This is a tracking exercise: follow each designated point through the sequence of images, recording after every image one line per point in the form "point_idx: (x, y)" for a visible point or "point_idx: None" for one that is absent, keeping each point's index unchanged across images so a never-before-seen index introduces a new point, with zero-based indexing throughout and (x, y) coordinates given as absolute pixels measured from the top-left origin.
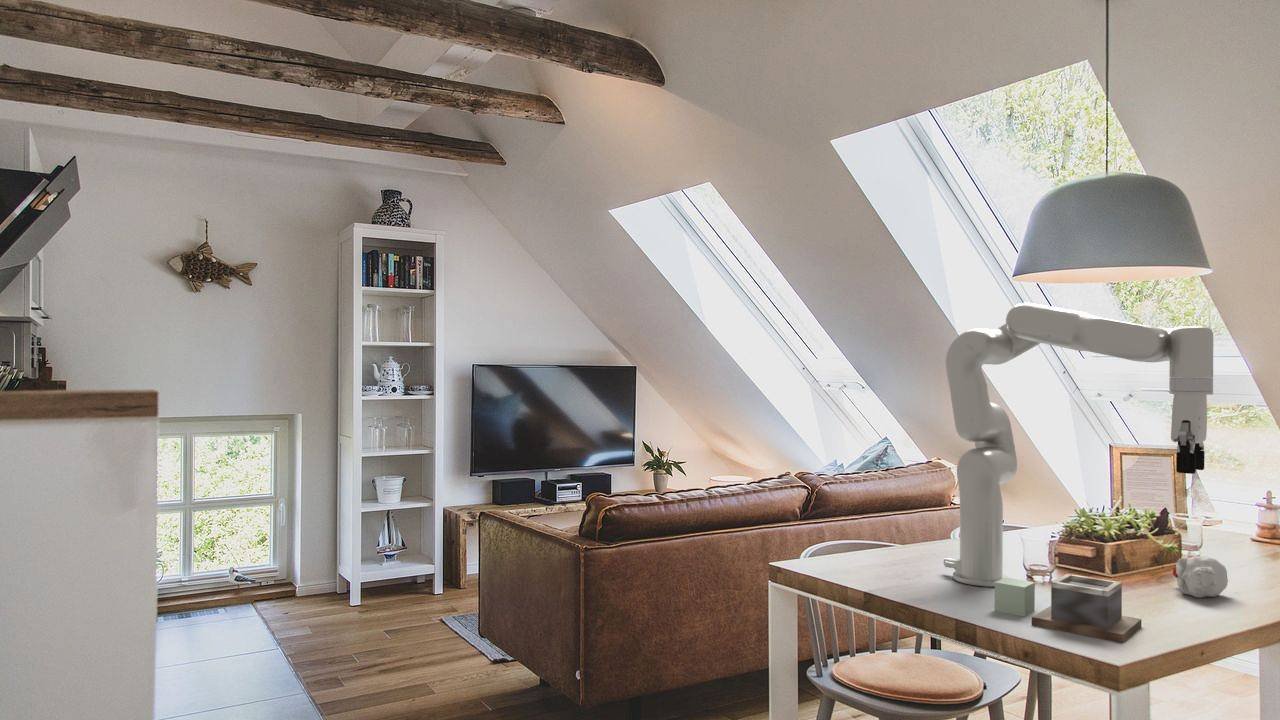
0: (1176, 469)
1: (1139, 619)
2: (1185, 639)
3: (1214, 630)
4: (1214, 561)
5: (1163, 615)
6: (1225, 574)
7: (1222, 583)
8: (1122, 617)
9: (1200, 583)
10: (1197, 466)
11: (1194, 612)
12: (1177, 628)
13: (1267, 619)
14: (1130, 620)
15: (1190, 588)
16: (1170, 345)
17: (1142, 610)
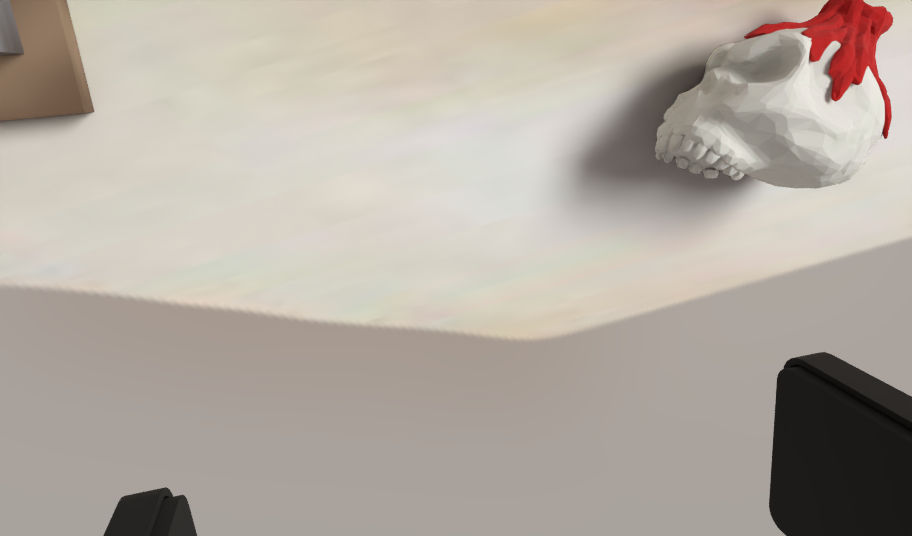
0: (114, 515)
1: (71, 109)
2: (70, 263)
3: (277, 283)
4: (811, 167)
5: (337, 112)
6: (800, 187)
7: (763, 178)
8: (36, 53)
9: (657, 147)
10: (799, 489)
11: (468, 169)
12: (194, 201)
13: (549, 334)
14: (19, 91)
15: (678, 101)
16: None
17: (348, 35)
